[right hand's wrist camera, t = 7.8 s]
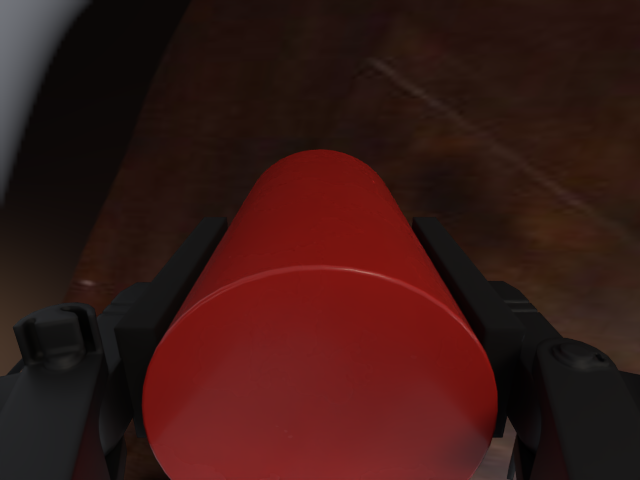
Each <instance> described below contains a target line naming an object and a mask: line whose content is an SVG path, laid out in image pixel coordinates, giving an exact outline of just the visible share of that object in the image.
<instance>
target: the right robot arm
mask: <svg viewBox="0 0 640 480" xmlns="http://www.w3.org/2000/svg"><path fill="white" fill-rule="evenodd" d="M227 229H228V226H227V217H204V218H203V219H202V221H201V222H200V223H199V224H198V226H197V227H196V228H195V229H194V230H193V232H192V233H191V234H190V235H189V237H188V238H187V239H186V240H185V241H184V243H183V244H182V245H181V246H180V248H179V249H178V250H177V251H176V253H175V254H174V255H173V256H172V257H171V259H170V260H169V261H168V262H167V264H166V265H165V266H164V267H163V268H162V270H161V271H160V272H159V273H158V275H157V276H156V277H155V278H154V279H153V281H152V282H137V283H135V284H133V285H132V286H130V287H128V288H127V289H125V290H123V291H121V292H120V293H119V294H118V295H117V296H116V298H115V299H114V300H113V301H112V302H111V305H108V306H107V307H106V308H105V309H104V311H103V314H100V315H99V316H98V317H97V318H96V313H95V309H94V308H93V307H91V306H90V305H88V304H83V303H62V304H58V305H54V306H49V307H46V308H43V309H40V310H38V311H35V312H33V313H31V314H29V315H27V316H26V317H24V318H22V319H21V320H20V321H19V322H18V323H17V324H16V325H15V326H14V327H13V330H14V333H15V336H16V339H17V342H18V345H19V348H20V351H21V354H22V359H21V360H20V361H19V362H18V363H17V364H16V365H15V366H14V367H13V368H12V369H11V370H10V371H9V372H8V374H7V375H6V376H1V377H0V480H124V472H125V463H126V455H127V449H126V443H125V439H124V432H125V430H126V429H127V427H128V425H129V423H130V421H131V420H132V418H133V420H134V425H135V429H136V434H137V438H147V435H146V431H145V428H144V424H143V413H142V393H143V383H144V379H145V375H146V371H147V368H148V365H149V363H150V360H151V358H152V356H153V354H154V351H155V349H156V347H157V346H158V344H159V342H160V341H161V339H162V337H163V336H164V334H165V332H166V331H167V329H168V327H169V326H170V324H171V322H172V321H173V319H174V317H175V316H176V314H177V312H178V311H179V309H180V307H181V306H182V304H183V302H184V301H185V299H186V297H187V296H188V294H189V292H190V291H191V289H192V288H193V286H194V284H195V283H196V281H197V279H198V278H199V276H200V274H201V273H202V271H203V269H204V268H205V266H206V264H207V263H208V261H209V259H210V258H211V256H212V254H213V253H214V251H215V249H216V248H217V246H218V244H219V243H220V241H221V239H222V238H223V236H224V234H225V233H226V231H227ZM412 230H413V232H414V233H415V235H416V237H417V238H418V240H419V242H420V243H421V245H422V247H423V248H424V250H425V252H426V253H427V255H428V257H429V258H430V260H431V262H432V263H433V265H434V267H435V268H436V270H437V272H438V273H439V275H440V277H441V278H442V280H443V282H444V283H445V285H446V287H447V288H448V290H449V292H450V293H451V295H452V297H453V298H454V300H455V302H456V303H457V305H458V307H459V308H460V310H461V312H462V313H463V315H464V317H465V318H466V320H467V322H468V323H469V325H470V327H471V328H472V330H473V332H474V333H475V335H476V337H477V338H478V340H479V342H480V343H481V345H482V347H483V348H484V350H485V352H486V354H487V356H488V359H489V361H490V364H491V366H492V369H493V372H494V376H495V381H496V386H497V398H498V412H497V419H496V427H495V431H494V434H493V437H492V438H502V437H503V433H504V428H505V423H506V419H507V416H508V418H509V420H510V422H511V423H512V425H513V427H514V429H515V431H516V432H517V434H516V439H515V443H514V447H513V452H512V456H511V460H510V465H509V469H508V475H507V479H510V480H513V477H514V473H515V471H516V478H517V480H640V375H638V374H633V373H628V372H623V371H619V370H618V369H617V367H616V365H615V364H614V363H613V361H612V360H611V359H610V358H609V357H608V356H607V355H606V354H604V353H603V352H601V351H600V350H598V349H597V348H595V347H593V346H590V345H588V344H586V343H583V342H581V341H577V340H573V339H569V338H563V337H562V336H561V335H560V334H559V333H558V332H557V331H556V330H555V328H554V327H553V326H552V325H551V324H550V323H549V322H548V321H547V320H546V319H545V318H544V317H543V316H542V314H541V313H540V312H537V309H536V308H535V307H534V306H533V305H532V304H531V303H529V300H528V299H527V298H526V297H525V296H524V295H523V294H522V293H521V292H520V291H519V290H518V289H516V288H514V287H512V286H511V285H509V284H507V283H505V282H504V281H487V280H486V279H485V277H484V276H483V275H482V274H481V272H480V271H479V270H478V269H477V268H476V266H475V265H474V264H473V263H472V261H471V260H470V259H469V258H468V257H467V255H466V254H465V253H464V252H463V250H462V249H461V248H460V247H459V246H458V244H457V243H456V242H455V241H454V239H453V238H452V237H451V236H450V234H449V233H448V232H447V231H446V230H445V228H444V227H443V226H442V225H441V223H440V222H439V221H438V220H437V219H436V217H413V223H412ZM22 369H23V370H22ZM21 370H22V372H21ZM20 372H21V373H20Z"/></svg>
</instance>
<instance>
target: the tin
mask: <svg viewBox="0 0 640 480" xmlns="http://www.w3.org/2000/svg"><path fill="white" fill-rule="evenodd" d="M497 412H498V398H497V386H496V381H495V376H494V372H493V369H492V366H491V364H490V361H489V359H488V356H487V354H486V352H485V350H484V348H483V347H482V345H481V343H480V342H479V340H478V338H477V337H476V335H475V333H474V332H473V330H472V328H471V327H470V325H469V323H468V322H467V320H466V318H465V317H464V315H463V313H462V312H461V310H460V308H459V307H458V305H457V303H456V302H455V300H454V298H453V297H452V295H451V293H450V292H449V290H448V288H447V287H446V285H445V283H444V282H443V280H442V278H441V277H440V275H439V273H438V272H437V270H436V268H435V267H434V265H433V263H432V262H431V260H430V258H429V257H428V255H427V253H426V252H425V250H424V248H423V247H422V245H421V243H420V242H419V240H418V238H417V237H416V235H415V233H414V232H413V230H412V228H411V227H410V225H409V223H408V222H407V220H406V218H405V217H404V215H403V213H402V212H401V210H400V208H399V207H398V205H397V203H396V202H395V200H394V198H393V197H392V195H391V193H390V192H389V190H388V188H387V187H386V185H385V183H384V182H383V181H382V179H381V178H380V177H379V176H378V174H377V173H376V172H375V171H373V170H372V169H371V168H370V167H369V166H368V165H366V164H365V163H363V162H362V161H360V160H358V159H356V158H355V157H353V156H350V155H347V154H345V153H341V152H337V151H332V150H308V151H303V152H299V153H295V154H292V155H290V156H287V157H285V158H283V159H281V160H280V161H278V162H277V163H275V164H274V165H272V166H271V167H270V168H269V169H267V170H266V171H265V172H264V173H263V174H262V176H261V177H260V178H259V179H258V180H257V182H256V183H255V185H254V186H253V188H252V190H251V191H250V193H249V195H248V196H247V198H246V200H245V201H244V203H243V205H242V206H241V208H240V210H239V211H238V213H237V215H236V216H235V218H234V219H233V221H232V223H231V224H230V226H229V228H228V229H227V231H226V233H225V234H224V236H223V238H222V239H221V241H220V243H219V244H218V246H217V248H216V249H215V251H214V253H213V254H212V256H211V258H210V259H209V261H208V263H207V264H206V266H205V268H204V269H203V271H202V273H201V274H200V276H199V278H198V279H197V281H196V283H195V284H194V286H193V288H192V289H191V291H190V292H189V294H188V296H187V297H186V299H185V301H184V302H183V304H182V306H181V307H180V309H179V311H178V312H177V314H176V316H175V317H174V319H173V321H172V322H171V324H170V326H169V327H168V329H167V331H166V332H165V334H164V336H163V337H162V339H161V341H160V342H159V344H158V346H157V347H156V349H155V351H154V354H153V356H152V358H151V360H150V363H149V365H148V368H147V371H146V375H145V379H144V383H143V393H142V413H143V424H144V428H145V431H146V435H147V439H148V442H149V444H150V447H151V449H152V451H153V453H154V455H155V458H156V459H157V461H158V462H159V464H160V466H161V467H162V469H163V470H164V472H165V473H166V474H167V476H168V477H169V478H170V479H171V480H469V479H470V478H471V477H472V475H473V474H474V473H475V471H476V470H477V468H478V467H479V465H480V464H481V462H482V461H483V459H484V457H485V454H486V452H487V450H488V448H489V446H490V444H491V440H492V437H493V434H494V431H495V427H496V419H497Z"/></svg>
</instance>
